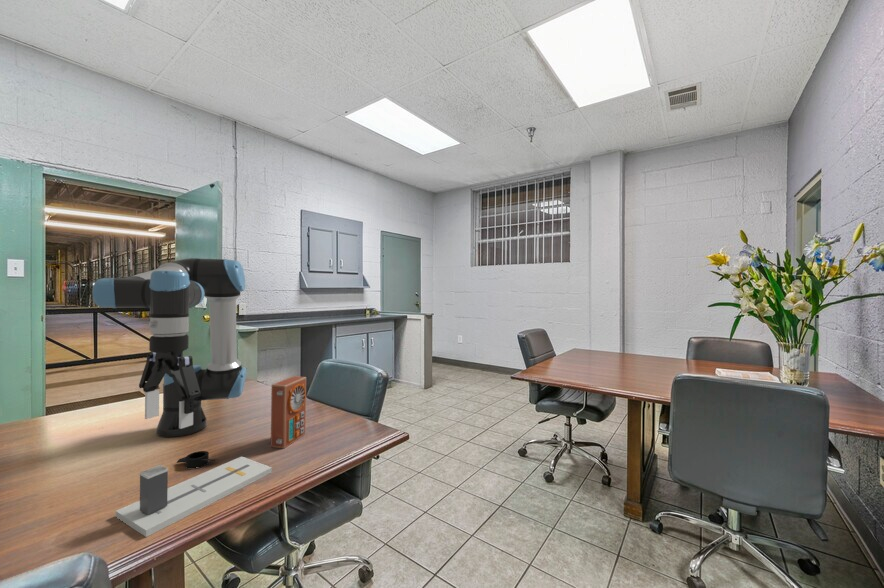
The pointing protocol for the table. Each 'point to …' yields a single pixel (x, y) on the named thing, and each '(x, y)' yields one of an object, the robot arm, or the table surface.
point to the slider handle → (153, 489)
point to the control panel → (288, 411)
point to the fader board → (194, 495)
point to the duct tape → (196, 459)
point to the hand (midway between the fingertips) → (168, 421)
